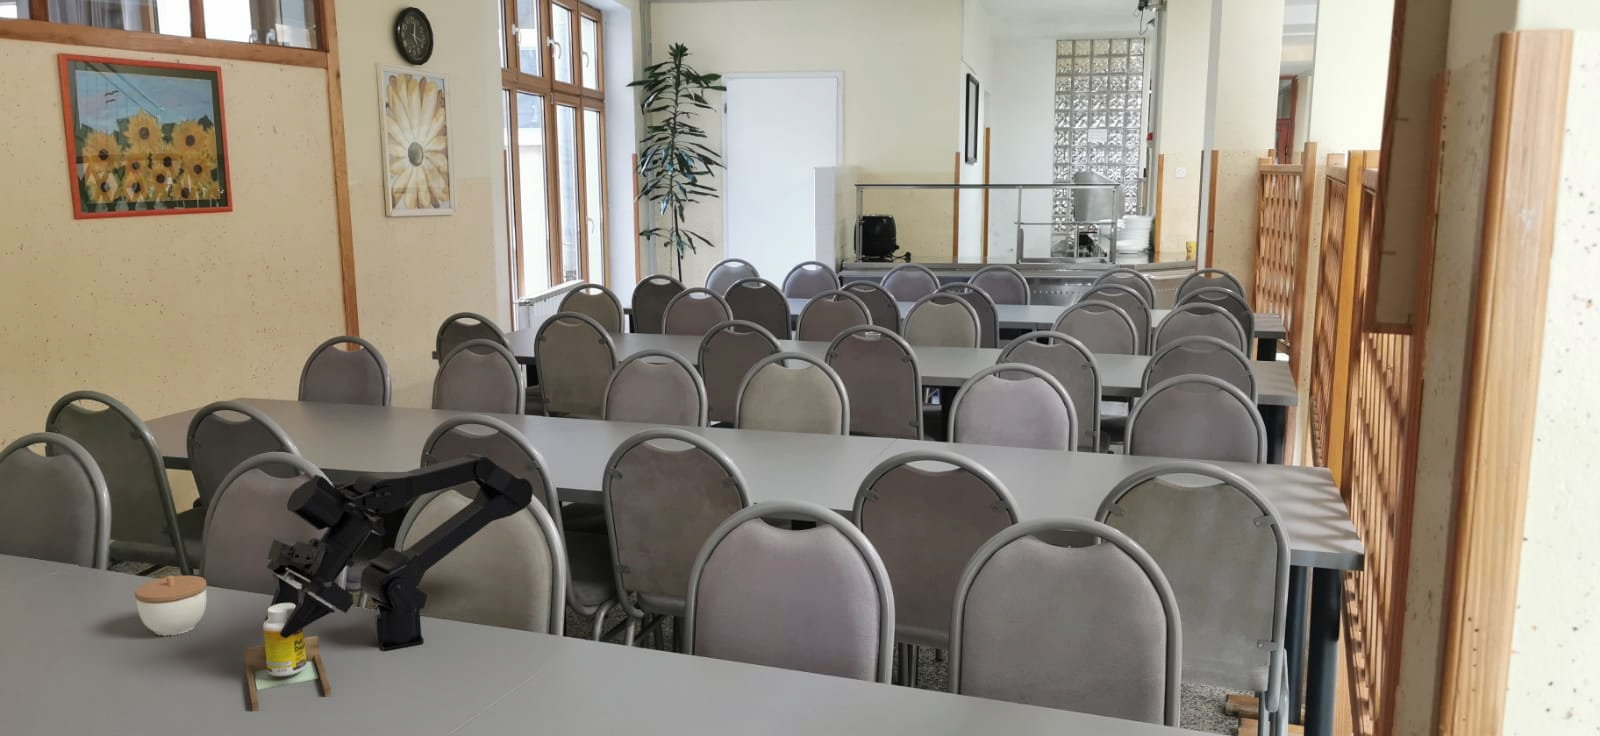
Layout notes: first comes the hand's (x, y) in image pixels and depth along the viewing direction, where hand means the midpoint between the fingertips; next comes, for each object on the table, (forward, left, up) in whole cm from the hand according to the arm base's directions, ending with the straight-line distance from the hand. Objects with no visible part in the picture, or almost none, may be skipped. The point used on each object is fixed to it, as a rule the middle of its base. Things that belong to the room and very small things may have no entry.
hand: (274, 631), depth 177 cm
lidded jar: (+14, -30, -8) cm, 34 cm away
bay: (-1, +3, -8) cm, 8 cm away
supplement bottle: (-1, 0, -7) cm, 7 cm away
